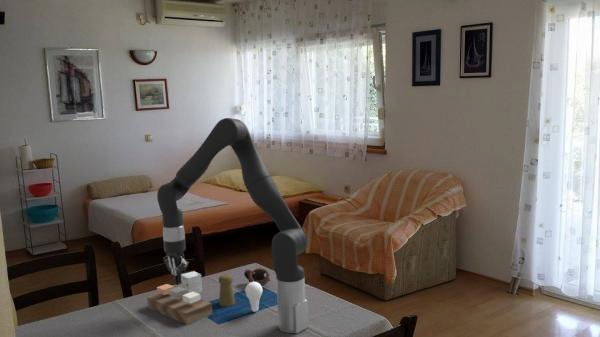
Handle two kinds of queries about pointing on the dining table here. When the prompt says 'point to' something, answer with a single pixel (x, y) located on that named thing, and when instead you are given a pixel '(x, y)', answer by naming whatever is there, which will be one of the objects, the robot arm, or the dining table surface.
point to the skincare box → (192, 282)
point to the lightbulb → (254, 294)
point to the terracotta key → (164, 289)
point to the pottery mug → (257, 276)
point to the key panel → (179, 308)
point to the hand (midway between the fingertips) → (177, 284)
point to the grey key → (178, 292)
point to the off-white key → (191, 297)
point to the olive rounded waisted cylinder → (226, 290)
